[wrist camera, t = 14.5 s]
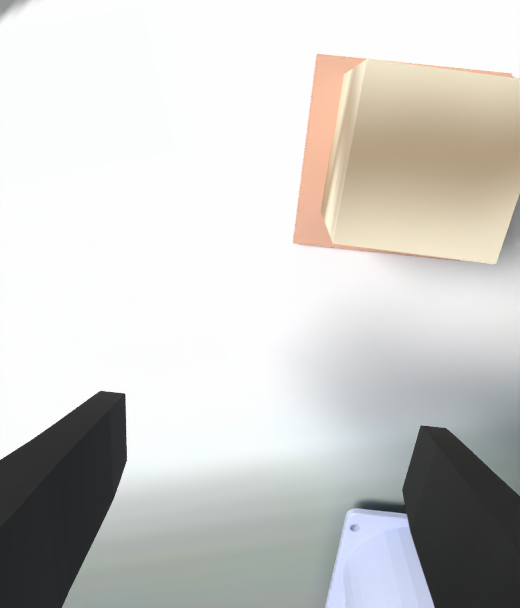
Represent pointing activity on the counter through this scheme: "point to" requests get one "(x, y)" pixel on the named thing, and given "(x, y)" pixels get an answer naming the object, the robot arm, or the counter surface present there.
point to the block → (424, 161)
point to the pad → (328, 149)
